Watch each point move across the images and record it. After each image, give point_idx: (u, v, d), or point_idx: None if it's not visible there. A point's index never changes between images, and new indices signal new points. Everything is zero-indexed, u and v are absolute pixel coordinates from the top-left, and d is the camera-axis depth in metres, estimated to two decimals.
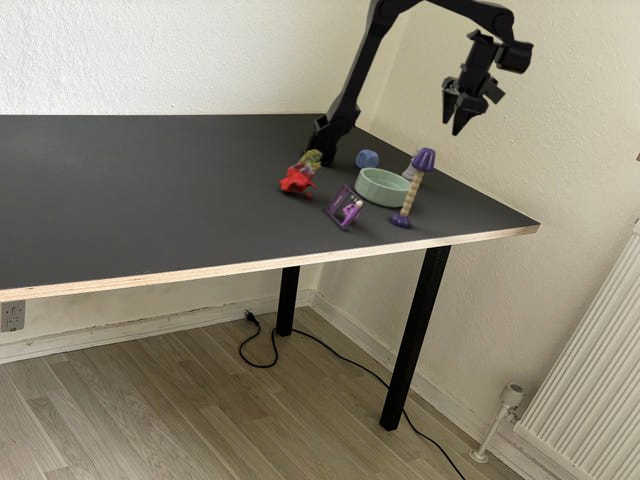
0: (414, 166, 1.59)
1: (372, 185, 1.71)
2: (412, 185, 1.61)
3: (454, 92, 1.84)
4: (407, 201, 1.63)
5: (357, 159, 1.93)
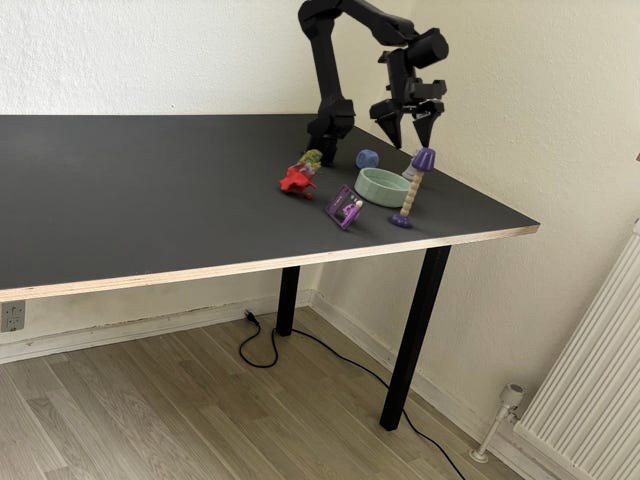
0: (414, 166, 1.59)
1: (372, 185, 1.71)
2: (412, 185, 1.61)
3: (421, 116, 1.70)
4: (407, 201, 1.63)
5: (357, 159, 1.93)
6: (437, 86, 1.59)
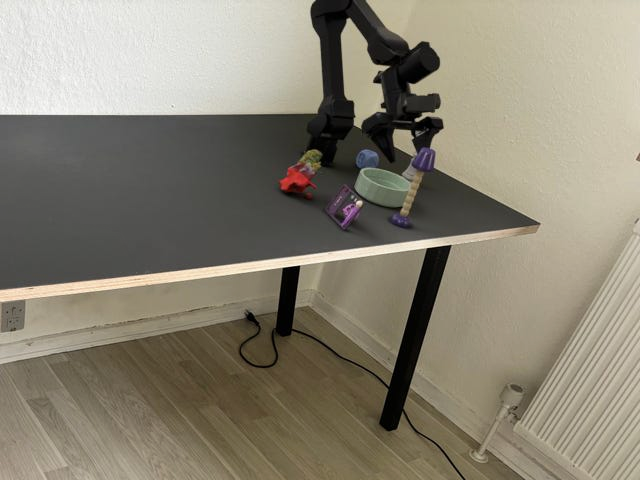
0: (414, 166, 1.59)
1: (372, 185, 1.71)
2: (412, 185, 1.61)
3: (420, 133, 1.67)
4: (407, 201, 1.63)
5: (357, 159, 1.93)
6: (428, 98, 1.56)
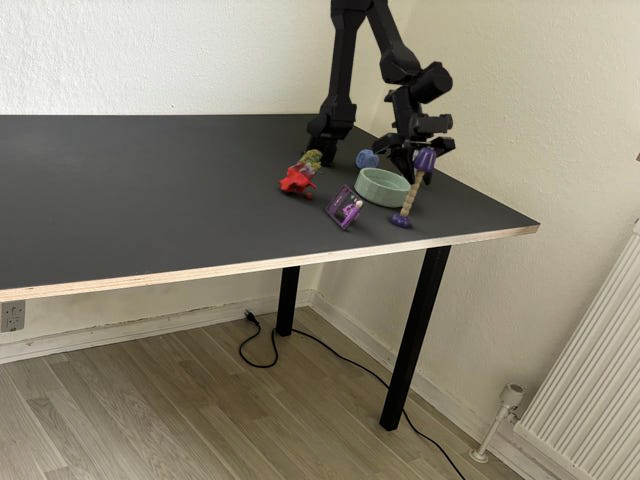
0: (414, 166, 1.59)
1: (372, 185, 1.71)
2: (412, 185, 1.61)
3: None
4: (407, 201, 1.63)
5: (357, 159, 1.93)
6: (441, 119, 1.54)
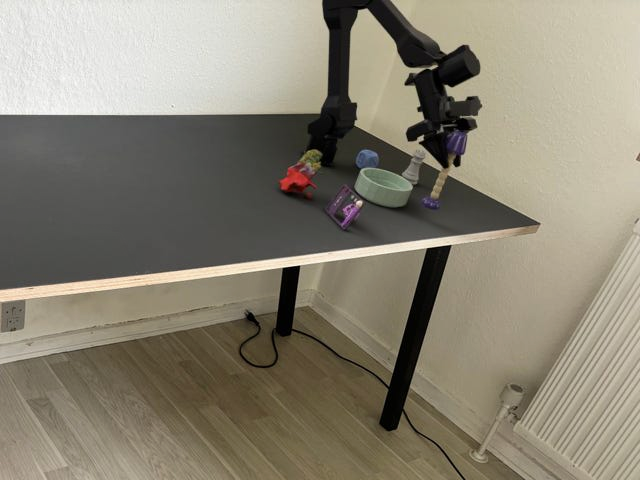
0: (448, 150, 1.61)
1: (372, 185, 1.71)
2: None
3: (448, 134, 1.65)
4: (439, 184, 1.65)
5: (357, 159, 1.93)
6: (473, 102, 1.56)
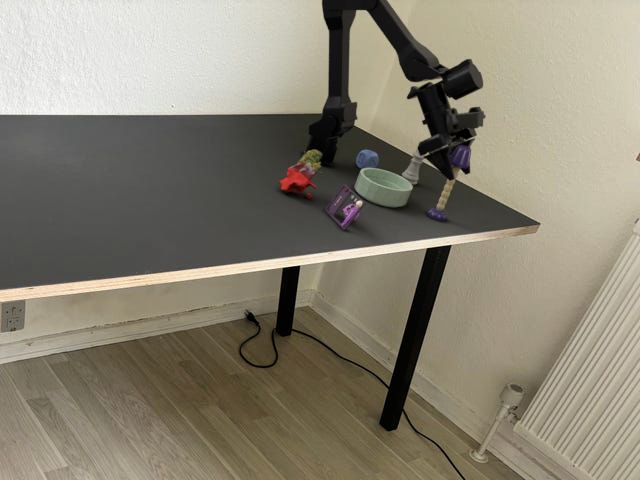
0: (454, 164, 1.66)
1: (372, 185, 1.71)
2: (450, 181, 1.69)
3: (456, 143, 1.72)
4: (445, 196, 1.71)
5: (357, 159, 1.93)
6: (480, 114, 1.61)
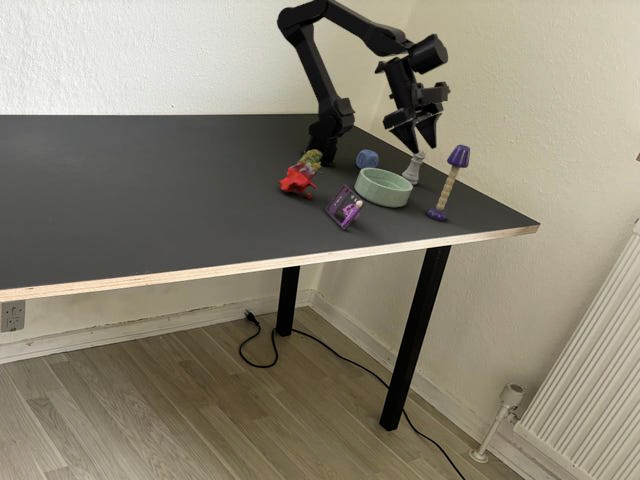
0: (453, 164, 1.66)
1: (372, 185, 1.71)
2: (449, 181, 1.69)
3: (423, 118, 1.75)
4: (444, 196, 1.71)
5: (357, 159, 1.93)
6: (444, 89, 1.64)
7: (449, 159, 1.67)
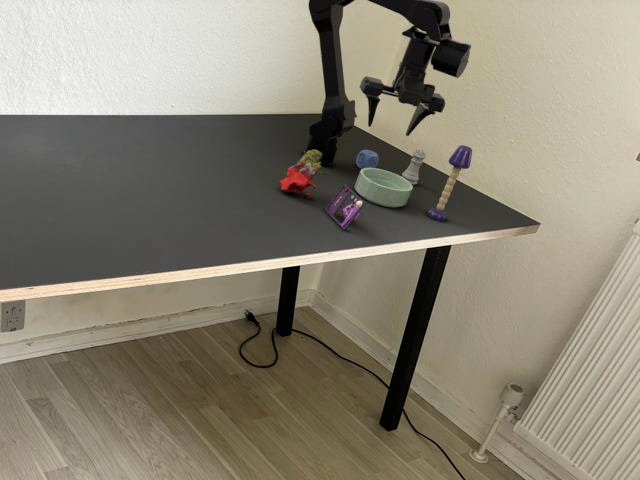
0: (455, 165, 1.66)
1: (372, 185, 1.71)
2: (450, 181, 1.69)
3: (422, 104, 1.74)
4: (445, 197, 1.71)
5: (357, 159, 1.93)
6: (412, 94, 1.64)
7: (451, 159, 1.67)
